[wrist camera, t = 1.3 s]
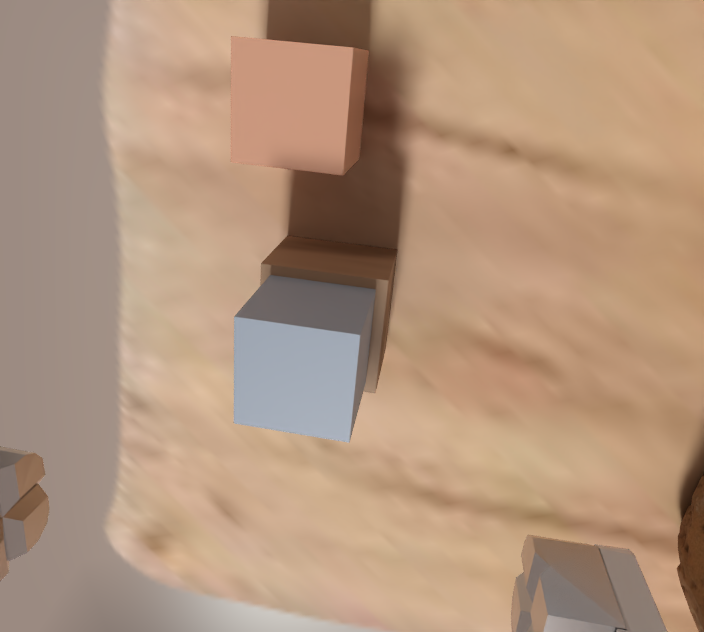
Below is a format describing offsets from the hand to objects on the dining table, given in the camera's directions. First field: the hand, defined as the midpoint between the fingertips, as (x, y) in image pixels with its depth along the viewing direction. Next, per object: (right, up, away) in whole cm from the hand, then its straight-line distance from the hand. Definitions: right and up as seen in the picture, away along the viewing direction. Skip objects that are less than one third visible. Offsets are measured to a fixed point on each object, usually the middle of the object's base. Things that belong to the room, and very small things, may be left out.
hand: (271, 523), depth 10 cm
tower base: (+1, +5, +23) cm, 24 cm away
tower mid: (0, +3, +18) cm, 19 cm away
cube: (-1, +14, +19) cm, 24 cm away
